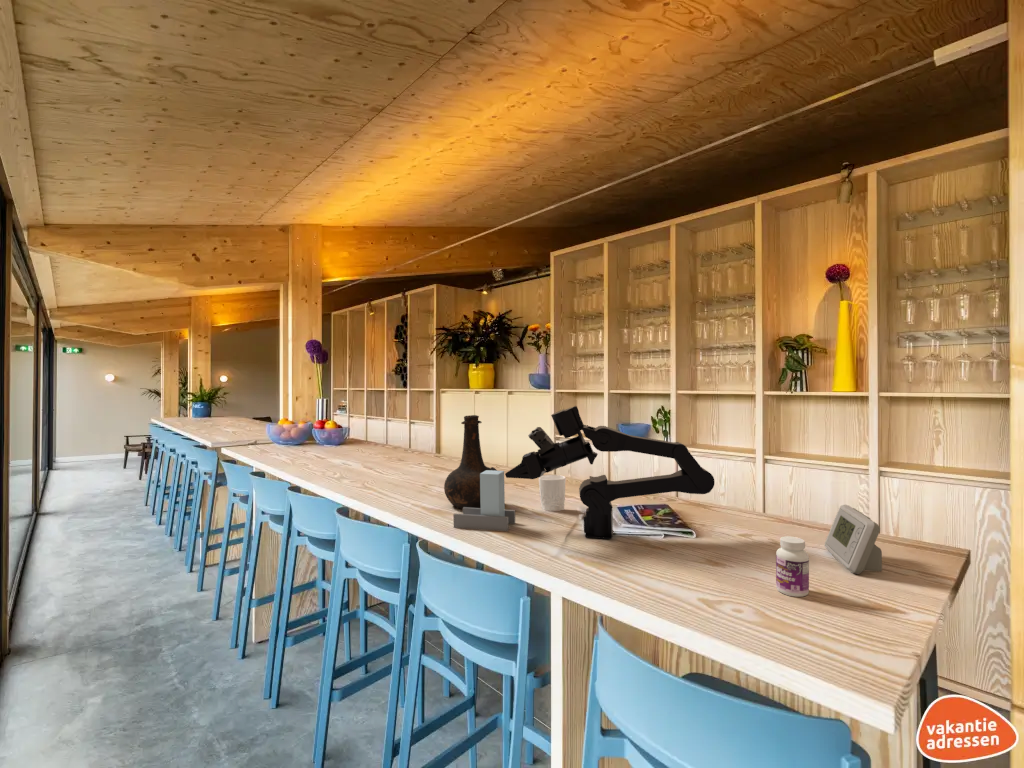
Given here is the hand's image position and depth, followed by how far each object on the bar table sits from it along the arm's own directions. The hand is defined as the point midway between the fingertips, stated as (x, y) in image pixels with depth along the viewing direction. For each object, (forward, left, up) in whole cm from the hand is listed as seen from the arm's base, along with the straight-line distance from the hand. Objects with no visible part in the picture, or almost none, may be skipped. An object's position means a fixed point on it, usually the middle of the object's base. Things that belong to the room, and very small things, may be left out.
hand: (510, 473), depth 138 cm
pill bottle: (-60, +25, -15) cm, 67 cm away
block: (+5, 0, -14) cm, 15 cm away
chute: (+7, 0, -15) cm, 17 cm away
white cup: (-6, -21, -15) cm, 27 cm away
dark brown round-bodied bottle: (+18, -20, -15) cm, 31 cm away
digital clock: (-75, +5, -15) cm, 77 cm away
